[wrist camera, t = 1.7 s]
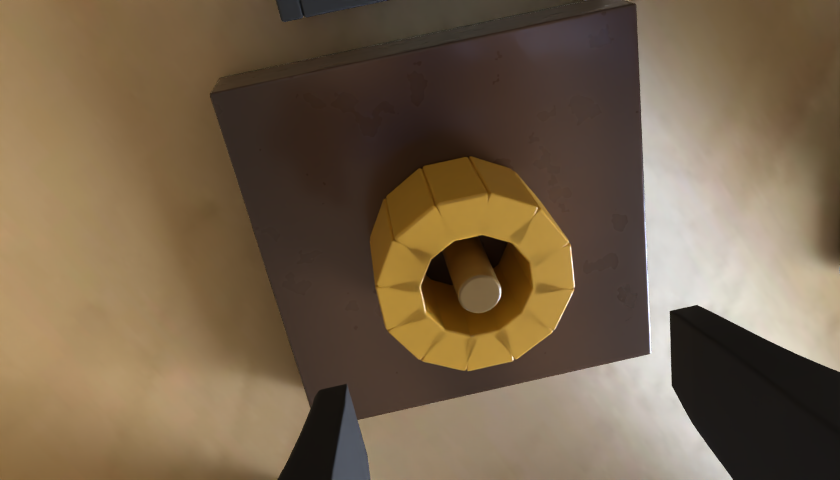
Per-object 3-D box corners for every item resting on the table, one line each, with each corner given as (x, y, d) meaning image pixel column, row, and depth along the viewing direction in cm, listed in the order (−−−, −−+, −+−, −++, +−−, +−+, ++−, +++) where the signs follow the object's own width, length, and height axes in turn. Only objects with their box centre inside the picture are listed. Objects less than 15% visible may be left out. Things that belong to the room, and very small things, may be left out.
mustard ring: (533, 141, 21) (564, 175, 18) (551, 295, 23) (581, 346, 20) (354, 179, 20) (358, 220, 18) (391, 331, 23) (399, 387, 20)
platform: (610, -5, 21) (695, 20, 16) (629, 324, 26) (698, 417, 21) (219, 77, 21) (185, 129, 16) (317, 393, 26) (315, 505, 21)
